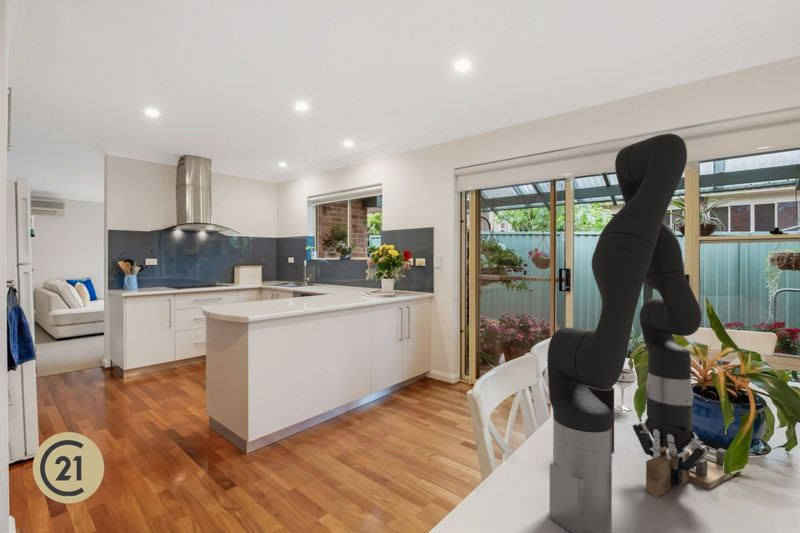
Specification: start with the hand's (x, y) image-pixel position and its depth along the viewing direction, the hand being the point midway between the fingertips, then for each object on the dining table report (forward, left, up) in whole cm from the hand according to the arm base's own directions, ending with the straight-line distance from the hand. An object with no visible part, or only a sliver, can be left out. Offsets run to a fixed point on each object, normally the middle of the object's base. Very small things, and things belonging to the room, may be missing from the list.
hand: (668, 482), depth 75 cm
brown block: (0, 0, -1) cm, 1 cm away
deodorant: (+3, +17, -1) cm, 17 cm away
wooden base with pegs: (+13, 0, -1) cm, 13 cm away
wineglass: (+34, +30, -1) cm, 45 cm away
